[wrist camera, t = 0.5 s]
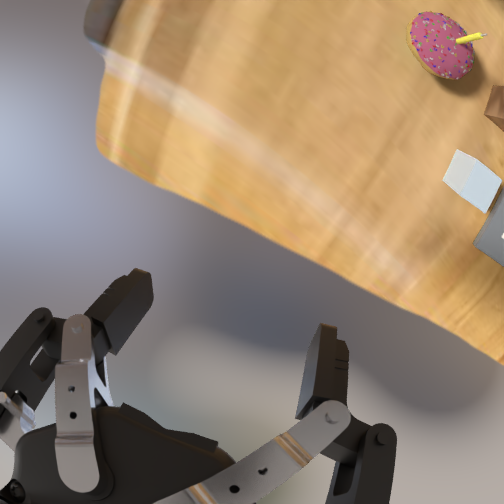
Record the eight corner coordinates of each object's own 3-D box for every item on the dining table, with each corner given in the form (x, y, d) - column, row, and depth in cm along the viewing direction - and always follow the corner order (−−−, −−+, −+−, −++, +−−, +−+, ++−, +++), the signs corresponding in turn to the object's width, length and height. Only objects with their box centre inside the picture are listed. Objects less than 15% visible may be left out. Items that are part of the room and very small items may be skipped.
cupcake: (441, 18, 18) (482, -5, 8) (466, 77, 21) (516, 75, 11) (387, 25, 22) (413, -5, 12) (414, 85, 25) (453, 82, 15)
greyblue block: (456, 149, 27) (476, 159, 22) (481, 167, 27) (502, 180, 22) (442, 180, 30) (459, 195, 25) (466, 196, 29) (485, 213, 24)
